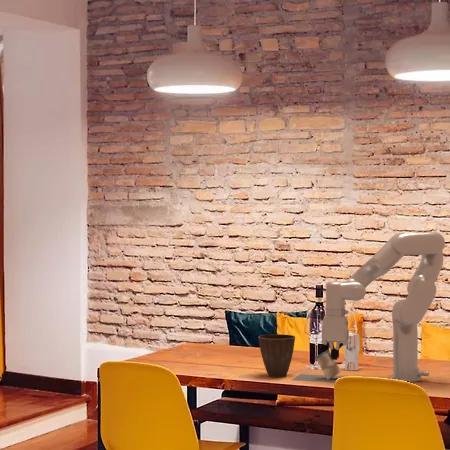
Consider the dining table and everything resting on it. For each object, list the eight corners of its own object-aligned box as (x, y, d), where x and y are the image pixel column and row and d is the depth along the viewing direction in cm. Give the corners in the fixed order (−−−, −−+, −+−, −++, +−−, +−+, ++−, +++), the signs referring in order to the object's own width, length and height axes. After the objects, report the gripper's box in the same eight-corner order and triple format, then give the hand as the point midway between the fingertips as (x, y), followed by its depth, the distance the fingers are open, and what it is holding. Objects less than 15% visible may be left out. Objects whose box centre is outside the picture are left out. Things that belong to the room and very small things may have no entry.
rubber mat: (353, 378, 393) (353, 376, 393) (346, 384, 380) (346, 382, 380) (300, 375, 400) (300, 374, 400) (291, 381, 387) (291, 380, 387)
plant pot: (251, 376, 398) (251, 337, 398) (270, 371, 410) (270, 333, 410) (283, 380, 390) (283, 339, 389) (302, 374, 402) (301, 335, 402)
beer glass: (346, 371, 409) (346, 335, 409) (341, 368, 416) (340, 333, 416) (362, 370, 411) (362, 334, 410) (356, 367, 418) (356, 332, 417)
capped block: (341, 371, 390) (328, 349, 391) (338, 373, 385) (325, 351, 387) (330, 377, 391) (318, 355, 393) (327, 379, 387) (315, 357, 388)
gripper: (355, 312, 389) (355, 359, 389) (318, 311, 394) (318, 357, 394) (352, 314, 382) (351, 362, 382) (314, 313, 386) (314, 359, 387)
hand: (334, 359), depth 388 cm, fingers closed
